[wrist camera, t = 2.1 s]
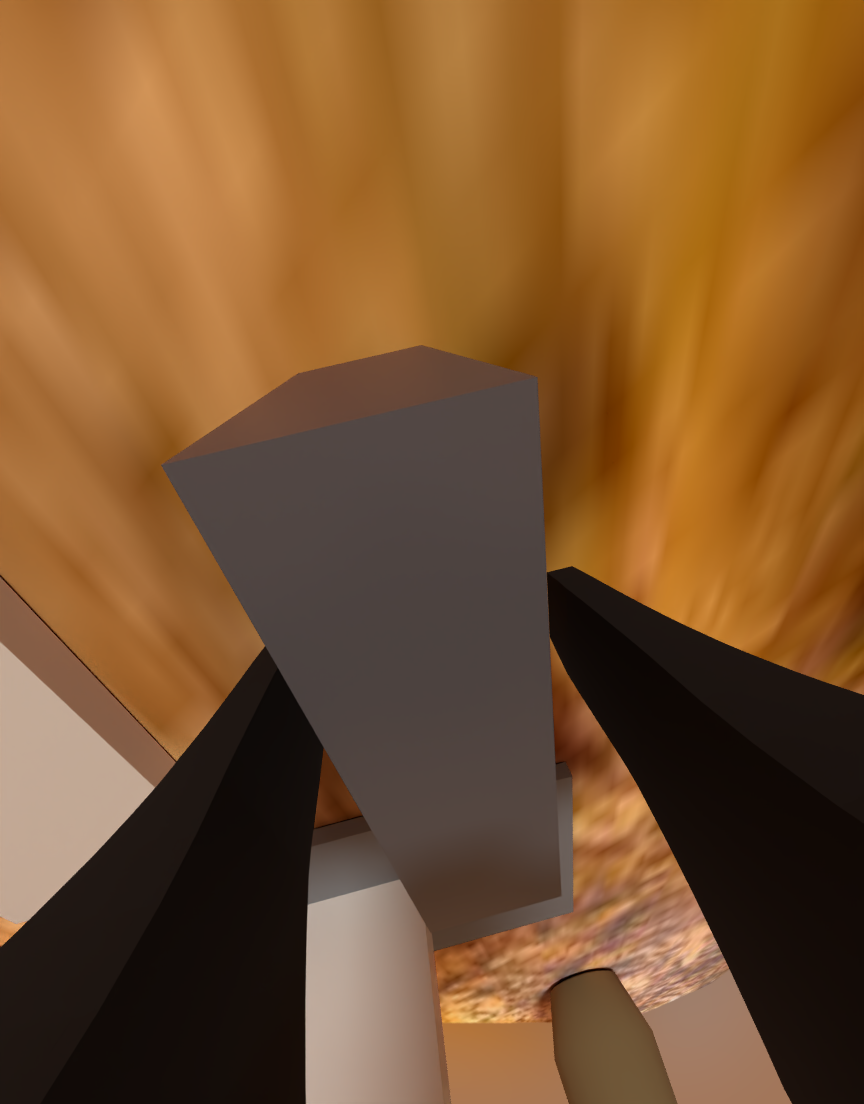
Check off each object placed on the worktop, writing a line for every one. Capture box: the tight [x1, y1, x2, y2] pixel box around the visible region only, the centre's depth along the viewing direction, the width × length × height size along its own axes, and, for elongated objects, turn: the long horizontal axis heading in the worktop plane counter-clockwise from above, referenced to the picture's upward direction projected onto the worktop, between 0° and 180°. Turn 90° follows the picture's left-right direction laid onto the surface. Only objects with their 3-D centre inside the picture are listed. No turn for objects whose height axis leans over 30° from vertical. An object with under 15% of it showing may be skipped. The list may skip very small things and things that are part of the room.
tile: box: [306, 879, 451, 1104], centre depth 15 cm, size 6×2×7 cm, turn 101°
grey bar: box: [161, 345, 562, 933], centre depth 9 cm, size 5×15×6 cm, turn 11°
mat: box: [308, 762, 573, 951], centre depth 19 cm, size 19×15×1 cm
